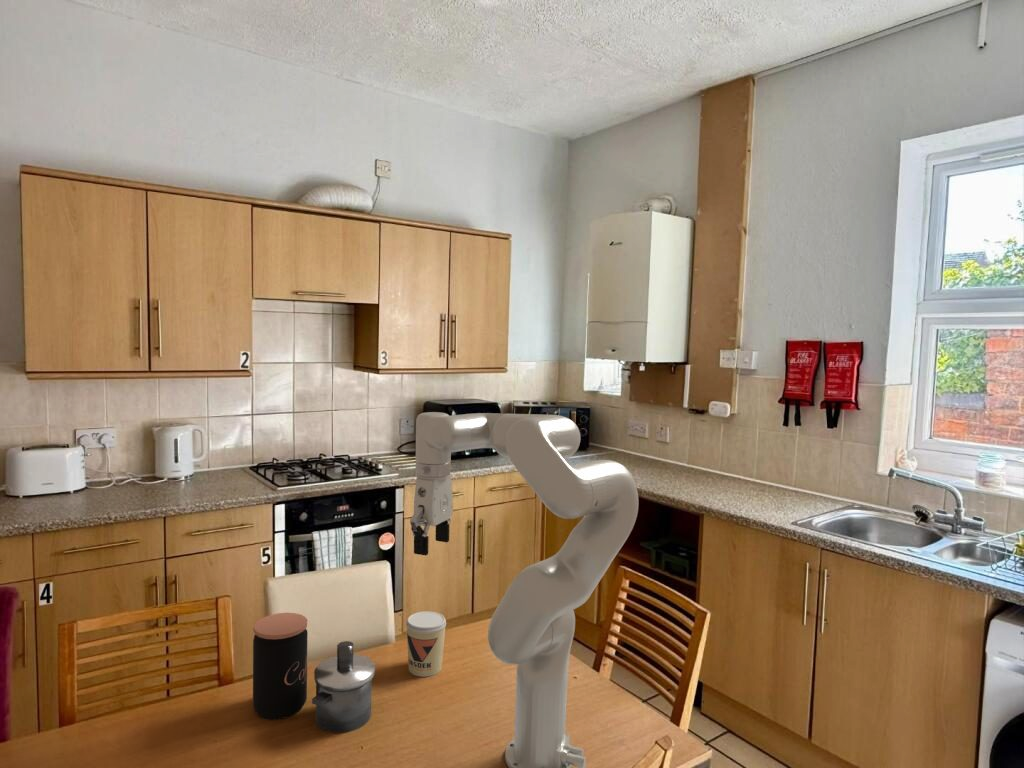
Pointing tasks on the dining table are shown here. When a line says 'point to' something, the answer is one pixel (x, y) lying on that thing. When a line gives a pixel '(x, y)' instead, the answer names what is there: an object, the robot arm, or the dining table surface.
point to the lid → (344, 669)
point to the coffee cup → (425, 642)
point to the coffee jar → (280, 665)
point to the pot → (343, 708)
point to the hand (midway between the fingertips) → (432, 547)
